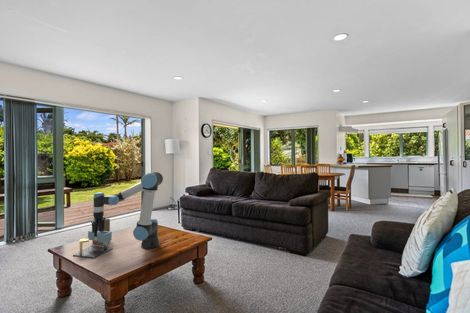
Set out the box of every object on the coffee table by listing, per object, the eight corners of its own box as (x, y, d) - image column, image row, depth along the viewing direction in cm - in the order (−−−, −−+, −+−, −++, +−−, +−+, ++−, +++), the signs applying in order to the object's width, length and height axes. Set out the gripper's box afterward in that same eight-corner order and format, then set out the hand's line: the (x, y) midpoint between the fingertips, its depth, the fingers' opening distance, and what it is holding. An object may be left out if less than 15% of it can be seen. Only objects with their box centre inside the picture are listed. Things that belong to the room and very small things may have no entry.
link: (111, 240, 204) (111, 231, 204) (105, 243, 198) (105, 234, 198) (92, 237, 208) (92, 229, 208) (85, 240, 202) (86, 232, 202)
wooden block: (101, 244, 215) (102, 221, 215) (92, 243, 217) (92, 220, 217) (109, 240, 225) (110, 218, 225) (100, 239, 227) (100, 218, 227)
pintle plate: (112, 249, 205) (112, 235, 205) (94, 258, 186) (94, 243, 186) (92, 246, 209) (92, 233, 209) (72, 256, 190) (73, 241, 190)
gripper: (101, 209, 212) (101, 236, 212) (86, 213, 196) (86, 242, 196) (109, 209, 210) (109, 237, 210) (94, 213, 194) (94, 243, 194)
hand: (98, 239), depth 203 cm, fingers closed on link, 3 cm apart
